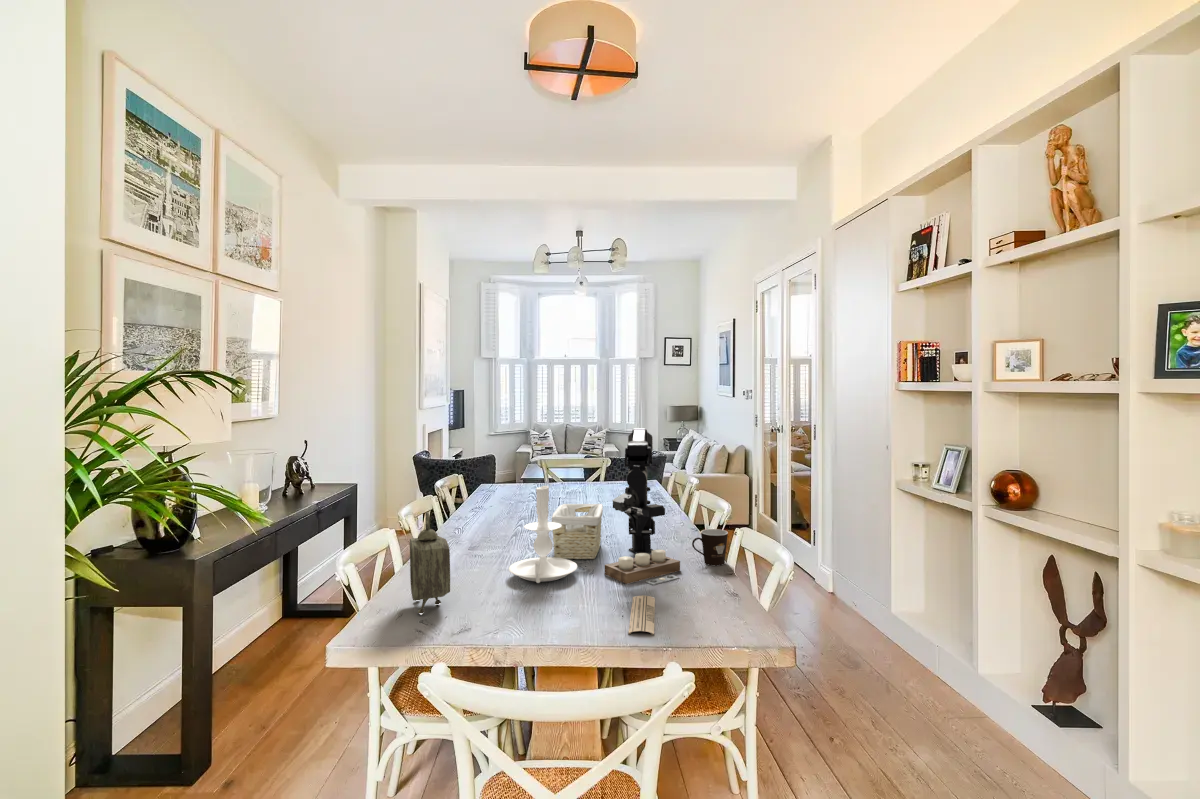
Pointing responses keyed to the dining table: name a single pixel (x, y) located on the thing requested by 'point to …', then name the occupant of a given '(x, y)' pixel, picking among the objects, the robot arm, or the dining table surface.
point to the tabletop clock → (429, 566)
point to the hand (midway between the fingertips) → (638, 535)
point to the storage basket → (577, 531)
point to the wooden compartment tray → (642, 570)
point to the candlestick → (542, 548)
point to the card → (661, 579)
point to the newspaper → (642, 614)
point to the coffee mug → (713, 546)
